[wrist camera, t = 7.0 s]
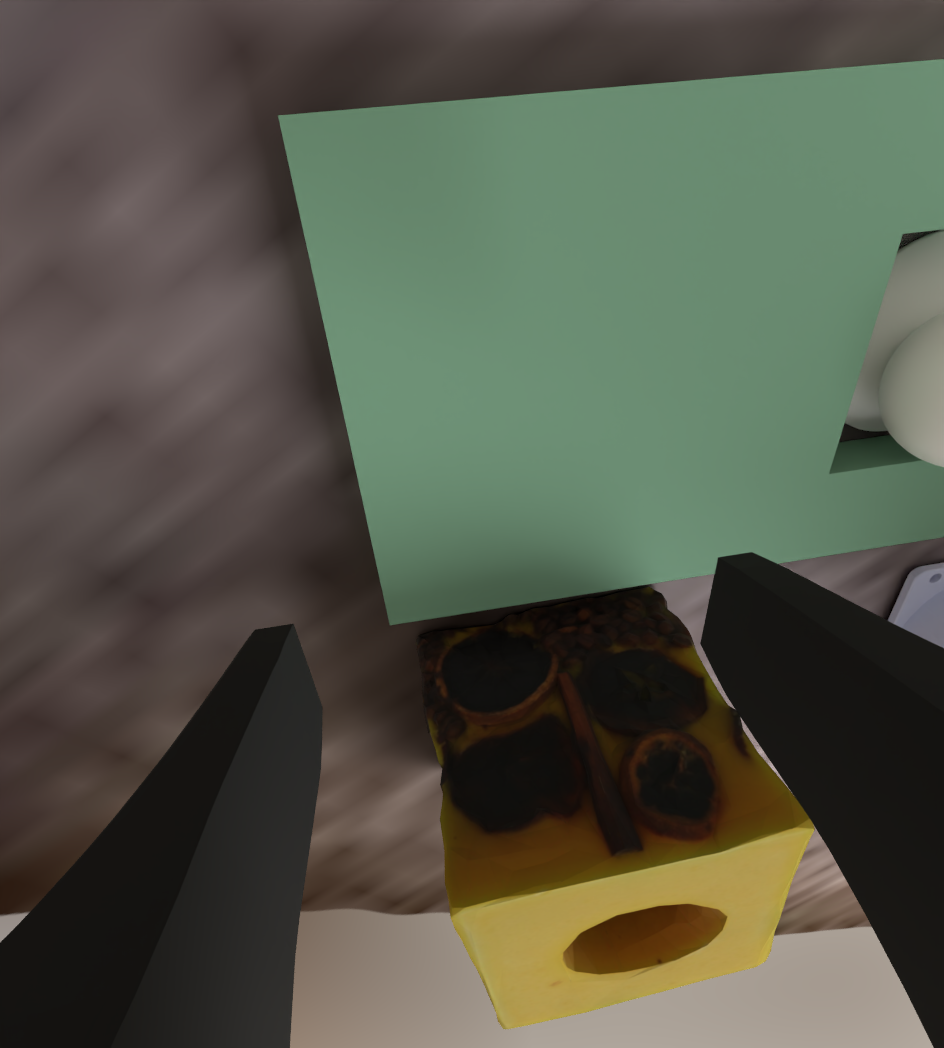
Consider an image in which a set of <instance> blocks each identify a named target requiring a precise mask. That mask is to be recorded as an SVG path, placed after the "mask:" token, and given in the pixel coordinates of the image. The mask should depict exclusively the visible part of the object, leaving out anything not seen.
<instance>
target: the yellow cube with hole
mask: <svg viewBox="0 0 944 1048" xmlns="http://www.w3.org/2000/svg"><path fill="white" fill-rule="evenodd" d="M416 646H417V652H418V655H419V660H420V661H419V662H420V668H421V673H422V688H423V689H422V694H423V705H424V714H425V719H426V723H427V728H428V733H430V734H431V737H432V740H433V743H434V747H435V750H436V754H437V758H438V762H439V764H440V765H441V767H442V777H441V784H440V785H441V788H442V791H443V802H442V809H441V816H440V822H441V829H442V836H443V843H444V850H445V886H446V890H447V895H448V900H449V907H450V916H451V920H452V922H453V925H454V928H455V930H456V931H457V933H458V935H459V936H460V938H461V940H462V941H463V944H464V946H465V948H466V950H467V952H468V954H469V956H470V958H471V960H472V962H473V963H474V965H475V966H476V968H477V970H478V973H479V975H480V977H481V979H482V981H483V983H484V985H485V988H486V990H487V993H488V995H489V997H490V1000H491V1002H492V1004H493V1006H494V1009H495V1011H496V1013H497V1019H498V1022H499V1023H500V1025H501V1026H502V1028H503V1029H511V1028H515V1027H521V1026H526V1025H531V1024H535V1023H540V1022H544V1021H548V1020H553V1019H558V1018H562V1017H567V1016H571V1015H576V1014H580V1013H585V1012H589V1011H592V1010H596V1009H600V1008H603V1007H607V1006H610V1005H614V1004H618V1003H621V1002H625V1001H629V1000H632V999H636V998H640V997H643V996H647V995H651V994H655V993H659V992H663V991H666V990H670V989H674V988H677V987H681V986H684V985H688V984H691V983H695V982H699V981H703V980H706V979H710V978H714V977H718V976H722V975H726V974H730V973H734V972H738V971H742V970H746V969H750V968H754V967H757V966H758V965H760V964H762V963H763V962H765V961H766V959H767V957H768V955H769V953H770V951H771V947H772V942H773V937H774V932H775V929H776V927H777V924H778V922H779V919H780V916H781V913H782V910H783V907H784V904H785V901H786V898H787V894H788V891H789V888H790V885H791V882H792V879H793V877H794V874H795V872H796V870H797V868H798V865H799V863H800V861H801V858H802V856H803V854H804V851H805V849H806V847H807V844H808V842H809V840H810V838H811V835H812V834H813V832H814V830H815V828H814V825H813V823H812V821H811V820H810V818H809V817H808V815H807V814H806V812H805V811H804V809H803V808H802V806H801V805H800V803H799V802H798V801H797V799H796V798H795V797H794V795H793V794H792V793H791V791H790V790H789V789H788V788H787V786H786V785H785V784H784V783H783V782H782V781H781V779H780V778H779V777H778V776H777V775H776V773H775V772H774V771H773V770H772V769H771V768H770V766H769V765H768V764H767V763H766V762H765V760H764V759H763V758H762V757H761V756H760V755H759V753H758V752H757V751H756V749H755V747H754V746H753V744H752V743H751V741H750V740H749V738H748V737H747V735H746V733H745V732H744V730H743V728H742V723H741V719H740V715H739V714H738V712H737V711H736V710H735V709H733V708H732V707H730V706H728V705H727V703H726V702H725V700H724V699H723V697H722V696H721V694H720V693H719V691H718V690H717V688H716V686H715V684H714V683H713V681H712V679H711V678H710V676H709V674H708V672H707V671H706V669H705V667H704V665H703V663H702V662H701V660H700V658H699V656H698V654H697V652H696V649H695V646H694V643H693V640H692V637H691V635H690V633H689V631H688V629H687V628H686V627H685V625H684V624H683V623H682V622H681V620H680V619H679V618H678V617H677V616H676V615H674V614H673V613H672V612H670V611H669V610H668V609H667V601H666V600H665V598H664V596H663V595H662V594H661V593H659V592H657V591H655V590H653V589H652V588H651V587H646V588H641V589H636V590H629V591H623V592H619V593H615V594H612V595H608V596H604V597H601V598H584V599H580V600H576V601H572V602H567V603H562V604H558V605H554V606H550V607H542V608H534V609H530V610H528V611H526V612H523V613H521V614H519V615H512V614H509V615H508V616H507V617H506V618H504V619H503V620H502V621H501V622H499V623H497V624H495V625H489V626H481V627H473V628H464V629H452V630H444V631H433V632H430V633H427V634H423V635H419V636H418V639H417V641H416Z"/></svg>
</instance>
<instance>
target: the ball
mask: <svg viewBox="0 0 944 1048" xmlns="http://www.w3.org/2000/svg"><path fill="white" fill-rule="evenodd" d="M878 401H879V410H880V414H881V417H882V420H883V423H884V425H885V427H886V428H887V430H888V432H889V433H890V435H891V436H892V437H893V438H894V440H895V441H896V442H897V443H898V444H899V445H900V446H902V447H903V448H904V449H905V450H907V451H908V452H909V453H911V454H912V455H914V456H916V457H918V458H919V459H922V460H924V461H926V462H929V463H931V464H934V465H937V466H941V467H944V312H942V313H940V314H938V315H937V316H935V317H933V318H931V319H930V320H928V321H927V322H925V323H924V324H923V325H921V326H920V327H918V328H917V329H916V330H915V331H913V332H912V333H911V334H910V335H909V336H908V337H907V338H906V339H905V340H904V341H903V342H902V343H901V344H900V345H899V347H898V348H897V349H896V350H895V352H894V353H893V355H892V356H891V358H890V360H889V361H888V363H887V365H886V367H885V370H884V372H883V374H882V378H881V381H880V385H879V392H878Z"/></svg>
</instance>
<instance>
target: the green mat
mask: <svg viewBox="0 0 944 1048" xmlns="http://www.w3.org/2000/svg"><path fill="white" fill-rule="evenodd" d="M278 118H279V122H280V127H281V132H282V136H283V141H284V145H285V150H286V154H287V159H288V163H289V168H290V173H291V177H292V182H293V186H294V191H295V195H296V200H297V205H298V209H299V214H300V218H301V223H302V227H303V232H304V236H305V241H306V246H307V250H308V255H309V259H310V264H311V268H312V273H313V277H314V282H315V287H316V291H317V296H318V300H319V305H320V309H321V314H322V318H323V323H324V328H325V332H326V337H327V341H328V346H329V350H330V355H331V360H332V364H333V369H334V373H335V378H336V382H337V387H338V391H339V396H340V401H341V405H342V410H343V414H344V419H345V423H346V428H347V432H348V437H349V442H350V446H351V451H352V455H353V460H354V464H355V469H356V473H357V478H358V483H359V487H360V492H361V496H362V501H363V505H364V510H365V514H366V519H367V524H368V528H369V533H370V537H371V542H372V546H373V551H374V556H375V560H376V565H377V569H378V574H379V578H380V583H381V587H382V592H383V597H384V601H385V606H386V610H387V615H388V619H389V624H390V625H395V624H402V623H408V622H414V621H420V620H427V619H433V618H439V617H446V616H452V615H458V614H464V613H471V612H477V611H483V610H490V609H496V608H502V607H508V606H515V605H521V604H527V603H534V602H540V601H546V600H553V599H559V598H565V597H571V596H578V595H584V594H590V593H597V592H603V591H609V590H615V589H622V588H628V587H634V586H641V585H647V584H653V583H659V582H666V581H672V580H678V579H685V578H691V577H697V576H703V575H710V574H715V570H716V565H717V560H718V557H723V556H730V555H736V554H742V553H749V552H753V553H755V554H757V555H760V556H762V557H764V558H766V559H768V560H770V561H772V562H775V563H777V564H779V563H785V562H791V561H798V560H804V559H810V558H817V557H823V556H829V555H835V554H842V553H848V552H854V551H861V550H867V549H873V548H879V547H886V546H892V545H898V544H905V543H911V542H917V541H923V540H930V539H936V538H942V537H944V467H941V466H937V465H934V464H931V463H929V462H926V461H924V460H922V459H919V458H918V457H916V456H914V455H912V454H911V453H909V452H908V451H907V450H905V449H904V448H903V447H902V446H900V445H899V444H898V443H897V442H896V441H895V440H894V438H893V437H892V436H891V435H886V436H879V437H872V438H865V439H858V440H851V441H844V442H839V440H840V436H841V433H842V430H843V427H844V423H846V424H848V425H850V426H852V427H855V428H857V429H861V430H865V431H877V432H878V431H888V430H887V428H886V427H885V425H884V423H883V420H882V417H881V414H880V410H879V401H878V392H879V385H880V381H881V378H882V374H883V372H884V370H885V367H886V365H887V363H888V361H889V360H890V358H891V356H892V355H893V353H894V352H895V350H896V349H897V348H898V347H899V345H900V344H901V343H902V342H903V341H904V340H905V339H906V338H907V337H908V336H909V335H910V334H911V333H912V332H913V331H915V330H916V329H917V328H918V327H920V326H921V325H923V324H924V323H925V322H927V321H928V320H930V319H931V318H933V317H935V316H937V315H938V314H940V313H942V312H944V230H942V229H944V59H938V60H926V61H915V62H903V63H891V64H879V65H867V66H856V67H844V68H832V69H820V70H808V71H797V72H785V73H773V74H761V75H750V76H738V77H726V78H714V79H702V80H691V81H679V82H667V83H655V84H643V85H632V86H620V87H608V88H596V89H584V90H573V91H561V92H549V93H537V94H526V95H514V96H502V97H490V98H478V99H467V100H455V101H443V102H431V103H419V104H408V105H396V106H384V107H372V108H361V109H349V110H337V111H325V112H313V113H302V114H290V115H278ZM933 230H940V231H937V232H934V233H931V234H928V235H926V236H923V237H921V238H919V239H917V240H915V241H913V242H911V243H909V244H908V245H906V246H904V247H903V248H901V249H899V250H898V248H899V245H900V242H901V239H902V235H903V234H906V233H915V232H924V231H933Z"/></svg>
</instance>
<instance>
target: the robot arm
mask: <svg viewBox="0 0 944 1048" xmlns="http://www.w3.org/2000/svg"><path fill="white" fill-rule="evenodd" d="M701 646H702V648H703V650H704V652H705V654H706V656H707V658H708V660H709V662H710V664H711V666H712V668H713V670H714V673H715V674H716V676H717V678H718V680H719V682H720V684H721V686H722V688H723V690H724V691H725V693H726V695H727V697H728V698H729V700H730V702H731V703H732V705H733V706H734V708H735V709H736V711H737V712H738V714H739V715H740V717H741V718H742V720H743V721H744V723H745V724H746V726H747V727H748V729H749V730H750V732H751V733H752V735H753V736H754V738H755V739H756V740H757V742H758V743H759V745H760V746H761V748H762V749H763V751H764V752H765V754H766V755H767V757H768V758H769V760H770V761H771V762H772V764H773V765H774V767H775V768H776V770H777V771H778V773H779V774H780V776H781V777H782V779H783V780H784V781H785V783H786V784H787V786H788V787H789V789H790V790H791V792H792V793H793V795H794V796H795V798H796V799H797V801H798V802H799V803H800V805H801V806H802V808H803V809H804V811H805V812H806V814H807V815H808V817H809V818H810V820H811V821H812V823H813V824H814V826H815V828H816V829H817V831H818V832H819V834H820V836H821V837H822V839H823V840H824V842H825V843H826V845H827V847H828V848H829V850H830V852H831V854H832V855H833V857H834V859H835V861H836V863H837V864H838V866H839V868H840V870H841V871H842V873H843V875H844V877H845V879H846V880H847V882H848V884H849V886H850V888H851V889H852V891H853V893H854V895H855V896H856V898H857V900H858V902H859V904H860V905H861V907H862V909H863V911H864V913H865V914H866V916H867V918H868V920H869V922H870V924H871V926H872V928H873V929H874V931H875V933H876V935H877V937H878V939H879V941H880V943H881V944H882V946H883V948H884V950H885V952H886V954H887V956H888V958H889V960H890V962H891V964H892V966H893V967H894V969H895V971H896V973H897V975H898V977H899V979H900V981H901V983H902V984H903V986H904V988H905V990H906V992H907V994H908V996H909V998H910V1000H911V1002H912V1004H913V1006H914V1008H915V1010H916V1012H917V1014H918V1016H919V1019H920V1021H921V1023H922V1025H923V1026H924V1029H925V1031H926V1033H927V1035H928V1037H929V1039H930V1041H931V1043H932V1045H933V1047H934V1048H944V563H938V564H932V565H926V566H920V567H917V568H915V569H914V570H912V571H911V572H910V573H909V575H908V576H907V579H906V581H905V583H904V585H903V587H902V590H901V592H900V594H899V596H898V599H897V601H896V603H895V605H894V608H893V610H892V612H891V614H890V617H889V619H888V621H887V620H885V619H883V618H881V617H879V616H877V615H875V614H873V613H872V612H870V611H868V610H866V609H864V608H862V607H860V606H858V605H856V604H854V603H852V602H850V601H848V600H846V599H844V598H842V597H841V596H839V595H837V594H835V593H833V592H831V591H829V590H827V589H825V588H823V587H821V586H819V585H818V584H816V583H814V582H812V581H810V580H808V579H806V578H804V577H802V576H800V575H798V574H796V573H794V572H792V571H790V570H789V569H787V568H785V567H783V566H781V565H779V564H777V563H775V562H772V561H770V560H768V559H766V558H764V557H762V556H760V555H757V554H755V553H753V552H749V553H742V554H736V555H730V556H723V557H718V560H717V565H716V570H715V575H714V580H713V585H712V590H711V594H710V599H709V604H708V609H707V614H706V619H705V624H704V629H703V634H702V639H701ZM321 751H322V705H321V702H320V699H319V696H318V693H317V690H316V688H315V685H314V682H313V679H312V676H311V673H310V670H309V668H308V665H307V662H306V659H305V656H304V653H303V650H302V647H301V645H300V642H299V639H298V636H297V633H296V630H295V627H294V624H289V625H283V626H276V627H270V628H264V629H257V630H255V631H254V632H253V633H252V634H251V636H250V637H249V638H248V640H247V641H246V642H245V644H244V645H243V647H242V648H241V649H240V651H239V652H238V654H237V655H236V657H235V658H234V659H233V661H232V662H231V664H230V665H229V667H228V668H227V670H226V671H225V672H224V674H223V675H222V677H221V678H220V680H219V681H218V682H217V684H216V685H215V687H214V688H213V689H212V691H211V692H210V694H209V695H208V696H207V698H206V699H205V701H204V702H203V703H202V705H201V706H200V708H199V709H198V710H197V712H196V713H195V714H194V716H193V717H192V718H191V720H190V721H189V722H188V724H187V725H186V727H185V728H184V729H183V731H182V732H181V733H180V735H179V736H178V737H177V739H176V740H175V741H174V743H173V744H172V745H171V747H170V748H169V749H168V751H167V752H166V753H165V755H164V756H163V757H162V759H161V760H160V761H159V763H158V764H157V765H156V766H155V767H154V769H153V770H152V771H151V772H150V774H149V775H148V776H147V777H146V779H145V780H144V781H143V782H142V784H141V785H140V786H139V787H138V789H137V790H136V791H135V792H134V794H133V795H132V796H131V797H130V799H129V800H128V801H127V802H126V804H125V805H124V806H123V807H122V809H121V810H120V811H119V812H118V814H117V815H116V816H115V817H114V818H113V820H112V821H111V822H110V823H109V824H108V826H107V827H106V828H105V829H104V830H103V831H102V833H101V834H100V835H99V836H98V837H97V838H96V840H95V841H94V842H93V843H92V844H91V845H90V847H89V848H88V849H87V850H86V851H85V852H84V853H83V855H82V856H81V857H80V858H79V859H78V860H77V861H76V862H75V864H74V865H73V866H72V867H71V868H70V869H69V870H68V871H67V872H66V874H65V875H64V876H63V877H62V878H61V879H60V880H59V881H58V882H57V883H56V885H55V886H54V887H53V888H52V889H51V890H50V891H49V892H48V893H47V894H46V896H45V897H44V898H43V899H42V900H41V901H40V902H39V903H38V904H37V905H36V906H35V908H34V909H33V910H32V911H31V912H30V913H29V914H28V915H27V916H26V917H25V918H24V919H23V920H22V921H21V922H20V923H19V924H18V925H17V926H16V927H15V928H14V930H13V931H11V932H10V934H9V935H7V937H6V938H4V939H3V940H2V941H1V943H0V1048H290V1033H291V1016H292V1000H293V983H294V965H295V953H296V944H297V934H298V925H299V917H300V910H301V903H302V896H303V890H304V883H305V876H306V869H307V862H308V855H309V848H310V842H311V835H312V828H313V821H314V814H315V807H316V800H317V793H318V786H319V778H320V771H321Z"/></svg>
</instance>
